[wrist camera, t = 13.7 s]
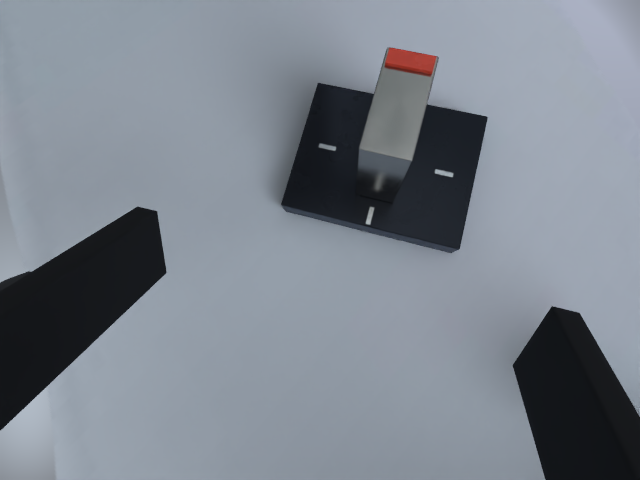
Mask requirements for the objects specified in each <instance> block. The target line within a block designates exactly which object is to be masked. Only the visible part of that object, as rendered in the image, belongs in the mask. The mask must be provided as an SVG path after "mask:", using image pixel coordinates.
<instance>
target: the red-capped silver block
mask: <svg viewBox="0 0 640 480" xmlns="http://www.w3.org/2000/svg"><path fill="white" fill-rule="evenodd" d="M438 59H439V58H438V57H437V56H432V55H427V54H422V53H416V52H411V51H406V50H401V49H395V48H387V50H386V53H385V57H384V60H383V64H382V67H381V71H380V75H379V78H378V82H377V85H376V89H375V92H374V96H373V99H372V103H371V106H370V110H369V113H368V117H367V120H366V124H365V127H364V131H363V135H362V138H361V142H360V145H359V150H358V164H357V179H356V194H358V195H362V196H366V197H370V198H374V199H378V200H382V201H386V202H390V203H393V202H394V200H395V198H396V196H397V194H398V191H399V189H400V187H401V185H402V183H403V180H404V178H405V176H406V174H407V172H408V169H409V167H410V165H411V163H412V161H413V157H414V153H415V149H416V145H417V141H418V137H419V133H420V129H421V125H422V122H423V118H424V114H425V110H426V106H427V102H428V98H429V94H430V90H431V86H432V82H433V78H434V75H435V71H436V67H437V63H438Z"/></svg>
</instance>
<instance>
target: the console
mask: <svg viewBox="0 0 640 480" xmlns="http://www.w3.org/2000/svg"><path fill="white" fill-rule="evenodd" d="M373 96H374V94H371V93H366V92H361V91H356V90H351V89H346V88H341V87H336V86H331V85H326V84H321V83H318V85H317V88H316V91H315V94H314V98H313V101H312V104H311V108H310V111H309V114H308V118H307V121H306V124H305V127H304V131H303V134H302V137H301V141H300V144H299V147H298V151H297V154H296V157H295V160H294V164H293V167H292V170H291V174H290V177H289V180H288V183H287V187H286V190H285V193H284V197H283V200H282V203H281V205H282V207H283V208H284V210H285V211H286V212H290V213H294V214H298V215H302V216H306V217H310V218H314V219H318V220H322V221H326V222H330V223H334V224H338V225H342V226H346V227H350V228H354V229H358V230H362V231H366V232H370V233H374V234H377V235H381V236H385V237H389V238H393V239H397V240H401V241H405V242H409V243H413V244H417V245H421V246H425V247H429V248H433V249H437V250H441V251H445V252H449V253H452V252H455V251H457V250H459V249H460V244H461V240H462V235H463V230H464V226H465V221H466V216H467V212H468V207H469V202H470V198H471V193H472V188H473V183H474V179H475V174H476V169H477V165H478V160H479V155H480V151H481V146H482V141H483V137H484V132H485V127H486V123H487V117H486V116H481V115H476V114H471V113H466V112H461V111H456V110H451V109H446V108H441V107H436V106H431V105H427V106H426V110H425V114H424V118H423V122H422V125H421V129H420V133H419V137H418V141H417V145H416V149H415V153H414V157H413V161H412V163H411V165H410V167H409V169H408V172H407V174H406V176H405V178H404V180H403V183H402V185H401V187H400V189H399V191H398V194H397V196H396V198H395V200H394V202H393V203H390V202H386V201H382V200H378V199H374V198H370V197H366V196H362V195H358V194H356V179H357V164H358V150H359V145H360V142H361V138H362V135H363V131H364V127H365V124H366V120H367V117H368V113H369V110H370V106H371V103H372V99H373Z"/></svg>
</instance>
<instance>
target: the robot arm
mask: <svg viewBox="0 0 640 480" xmlns="http://www.w3.org/2000/svg"><path fill="white" fill-rule="evenodd" d="M165 274H166V266H165V260H164V253H163V247H162V241H161V234H160V228H159V221H158V215H157V211H154V210H149V209H145V208H141V207H136V208H135V209H133V210H131V211H130V212H128V213H126V214H125V215H123V216H122V217H120V218H118V219H117V220H115V221H113V222H112V223H110V224H109V225H107V226H105V227H104V228H102V229H100V230H99V231H97V232H96V233H94V234H92V235H91V236H89V237H87V238H86V239H84V240H83V241H81V242H79V243H78V244H76V245H74V246H73V247H71V248H70V249H68V250H66V251H65V252H63V253H62V254H60V255H58V256H57V257H55V258H53V259H52V260H50V261H49V262H47V263H45V264H44V265H42V266H40V267H39V268H37V269H36V270H34V271H32V272H29V271H28V272H26V273H23V274H20V275H18V276H15V277H12V278H10V279H7V280H5V281H3V282H1V283H0V430H1V429H3V428H4V427H5V426H6V425H7V424H8V423H9V422H10V421H11V420H12V419H13V418H14V417H15V416H16V415H17V414H18V413H19V412H20V411H21V410H22V409H24V408H25V407H26V406H27V405H28V404H29V403H30V402H31V401H32V400H33V399H34V398H35V397H36V396H37V395H38V394H39V393H40V392H41V391H42V390H44V389H45V388H46V387H47V386H48V385H49V384H50V383H51V382H52V381H53V380H54V379H55V378H56V377H57V376H58V375H59V374H60V373H61V372H63V371H64V370H65V369H66V368H67V367H68V366H69V365H70V364H71V363H72V362H73V361H74V360H75V359H76V358H77V357H78V356H79V355H80V354H81V353H83V352H84V351H85V350H86V349H87V348H88V347H89V346H90V345H91V344H92V343H93V342H94V341H95V340H96V339H97V338H98V337H99V336H100V335H101V334H103V333H104V332H105V331H106V330H107V329H108V328H109V327H110V326H111V325H112V324H113V323H114V322H115V321H116V320H117V319H118V318H119V317H120V316H121V315H123V314H124V313H125V312H126V311H127V310H128V309H129V308H130V307H131V306H132V305H133V304H134V303H135V302H136V301H137V300H138V299H139V298H140V297H141V296H143V295H144V294H145V293H146V292H147V291H148V290H149V289H150V288H151V287H152V286H153V285H154V284H155V283H156V282H157V281H158V280H159V279H160V278H161V277H163V276H164V275H165ZM513 368H514V371H515V375H516V378H517V382H518V385H519V389H520V392H521V395H522V399H523V402H524V406H525V409H526V413H527V416H528V420H529V423H530V427H531V430H532V434H533V437H534V441H535V444H536V448H537V451H538V455H539V458H540V462H541V465H542V469H543V472H544V476H545V479H546V480H640V417H639V415H638V413H637V411H636V410H635V408H634V406H633V405H632V403H631V401H630V399H629V398H628V396H627V394H626V392H625V391H624V389H623V387H622V386H621V384H620V382H619V380H618V379H617V377H616V375H615V374H614V372H613V370H612V368H611V367H610V365H609V363H608V361H607V360H606V358H605V356H604V355H603V353H602V351H601V349H600V348H599V346H598V344H597V342H596V341H595V339H594V337H593V336H592V334H591V332H590V330H589V329H588V327H587V325H586V323H585V322H584V320H583V318H582V317H581V315H580V313H578V312H573V311H569V310H565V309H561V308H557V307H553V306H552V307H551V309H550V310H549V312H548V313H547V315H546V316H545V318H544V319H543V321H542V322H541V324H540V325H539V327H538V328H537V330H536V331H535V333H534V334H533V336H532V337H531V339H530V340H529V342H528V343H527V345H526V346H525V348H524V349H523V351H522V352H521V354H520V355H519V357H518V358H517V360H516V361H515V363H514V364H513Z"/></svg>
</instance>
